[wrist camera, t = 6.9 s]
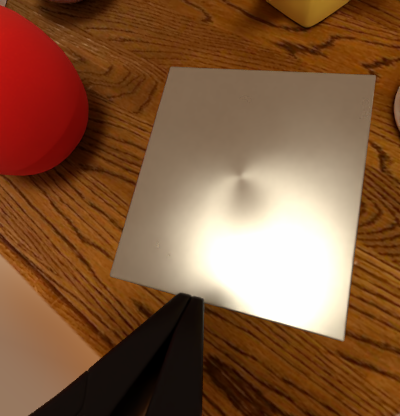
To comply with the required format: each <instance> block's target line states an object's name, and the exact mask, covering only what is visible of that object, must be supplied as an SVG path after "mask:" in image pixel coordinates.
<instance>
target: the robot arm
mask: <svg viewBox="0 0 400 416" xmlns="http://www.w3.org/2000/svg"><path fill="white" fill-rule="evenodd" d="M203 340H204V299H203V298H201V297H197V296H191V295H190V294H186V293H183V292H181V293H178V294H177V295H176V296H175V297H174V298H172V299H171V300H170V301H169V302H168V303H166V304H165V305H164V306H163V307H162V308H160V309H159V310H158V311H157V312H156V313H155V314H153V315H152V316H151V317H150V318H149V319H147V320H146V321H145V322H144V323H143V324H141V325H140V326H139V327H138V328H137V329H135V330H134V331H133V332H132V333H131V334H130V335H128V336H127V337H126V338H125V339H124V340H122V341H121V342H120V343H119V344H118V345H116V346H115V347H114V348H113V349H112V350H110V351H109V352H108V353H107V354H106V355H105V356H103V357H102V358H101V359H100V360H99V361H97V362H96V363H95V364H94V365H93V366H91V367H90V368H89V370H88V371H85V372H84V373H83V374H82V375H81V376H79V378H77V379H76V380H75V381H73V382H72V383H71V384H70V385H69V386H67V387H66V388H65V389H63V390H62V391H61V392H60V393H59V394H57V395H56V396H55V397H54V398H52V399H51V400H49V401H48V402H46V403H45V404H44V405H43V406H41V407H40V408H38V409H37V410H36V411H34V412H33V413H31V414H30V415H29V416H202V395H203Z"/></svg>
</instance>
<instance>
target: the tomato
mask: <svg viewBox="0 0 400 416" xmlns="http://www.w3.org/2000/svg"><path fill="white" fill-rule="evenodd" d="M87 123H88V99H87V94H86V91H85V88H84V86H83V83H82V81H81V79H80V77H79V75H78V73H77V71H76V70H75V68H74V66H73V64H72V63H71V61H70V60H69V59H68V57H67V56H66V55H65V53H64V52H63V50H62V49H61V48H60V47H59V46H58V45H57V44H56V43H55V42H54V41H53V40H52V39H51V38H50V37H48V36H47V35H46V34H45V33H44V32H43V31H42V30H41V29H40V28H38V27H37V26H36V25H34V24H33V23H32V22H30V21H29V20H27V19H26V18H24V17H23V16H21V15H20V14H18V13H17V12H15V11H13V10H11V9H8V8H6V7H4V6H1V5H0V174H3V175H21V176H24V175H34V174H38V173H42V172H45V171H47V170H50V169H52V168H54V167H55V166H57V165H59V164H60V163H61V162H62V161H63V160H65V159H66V158H67V157H68V156H69V155H70V154H71V153H72V151H73V150H74V149H75V148H76V146H77V145H78V143H79V142H80V140H81V139H82V137H83V135H84V132H85V130H86V127H87Z"/></svg>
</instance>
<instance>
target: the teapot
mask: <svg viewBox="0 0 400 416" xmlns="http://www.w3.org/2000/svg"><path fill="white" fill-rule="evenodd" d="M266 1H267V2H268V3H269V4H271V5H272V6H273V7H275V8H276V9H277V10H279V11H280V12H282V13H283V14H285V15H286V16H287V17H289V18H290V19H292V20H293V21H295V22H296V23H298V24H300V25H301V26H303V27H311V26H313V25H315V24H317V23H319V22H320V21H322V20H323V19H325V18H326V17H328V16H329V15H331V14H332V13H334V12H335V11H336V10H338V9H339V8H341V7H342V6H343V5H345V4H346V3H348V2H349V1H350V0H266Z"/></svg>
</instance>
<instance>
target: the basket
mask: <svg viewBox="0 0 400 416" xmlns="http://www.w3.org/2000/svg"><path fill="white" fill-rule="evenodd" d="M6 1H7V0H0V5H1V6H4V7H5V5H6Z"/></svg>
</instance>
